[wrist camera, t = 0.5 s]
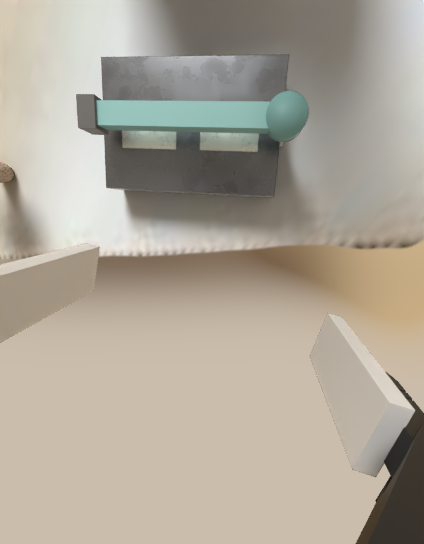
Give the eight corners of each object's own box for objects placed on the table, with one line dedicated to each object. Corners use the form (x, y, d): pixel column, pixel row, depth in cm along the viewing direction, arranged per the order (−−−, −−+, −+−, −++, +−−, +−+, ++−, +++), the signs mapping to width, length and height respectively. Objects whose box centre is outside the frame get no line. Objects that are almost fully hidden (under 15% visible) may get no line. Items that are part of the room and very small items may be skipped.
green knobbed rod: (305, 101, 28) (311, 90, 25) (300, 143, 29) (305, 136, 26) (91, 100, 31) (76, 90, 28) (93, 138, 32) (78, 131, 29)
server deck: (120, 76, 37) (87, 43, 29) (291, 76, 34) (303, 38, 26) (123, 190, 40) (94, 186, 33) (278, 198, 38) (284, 195, 30)
